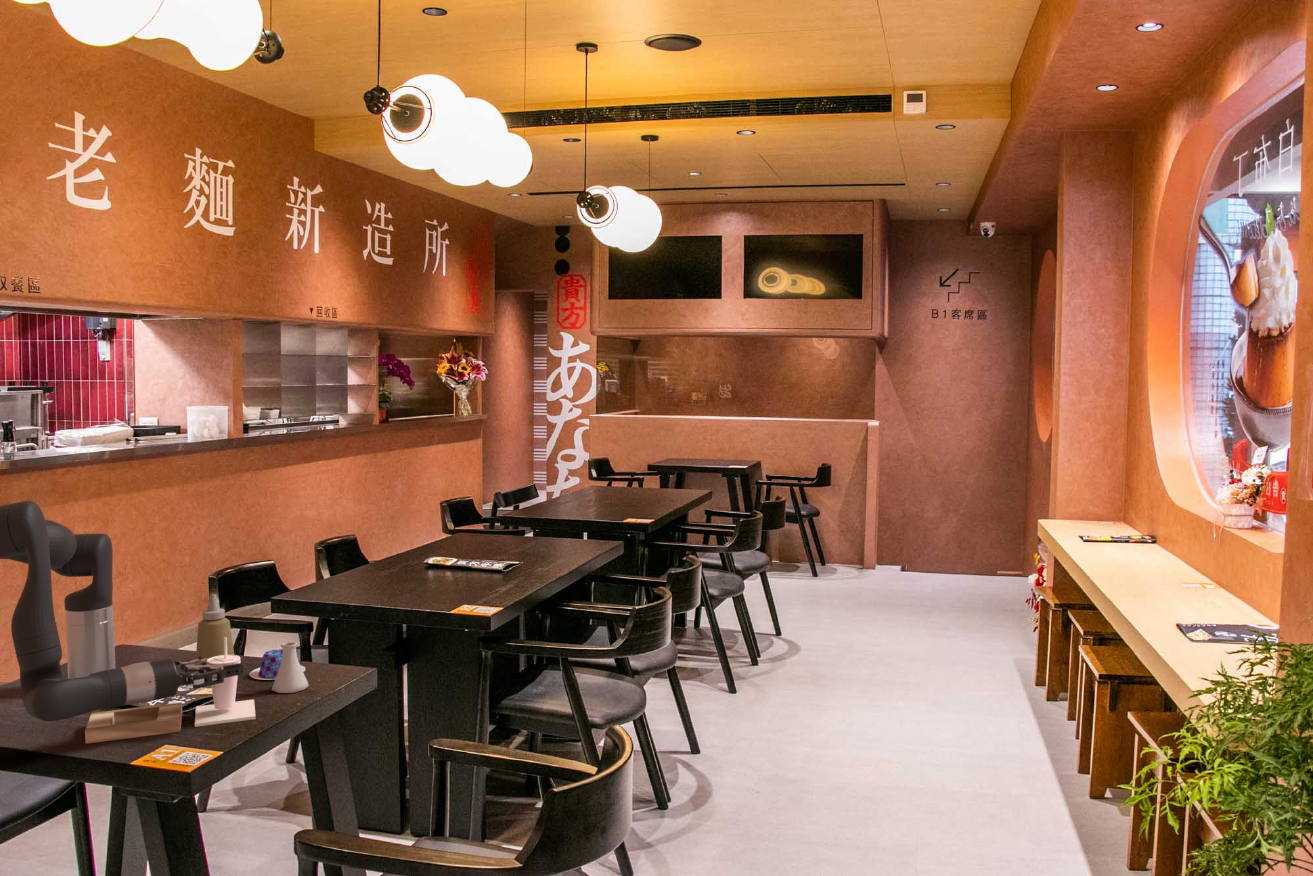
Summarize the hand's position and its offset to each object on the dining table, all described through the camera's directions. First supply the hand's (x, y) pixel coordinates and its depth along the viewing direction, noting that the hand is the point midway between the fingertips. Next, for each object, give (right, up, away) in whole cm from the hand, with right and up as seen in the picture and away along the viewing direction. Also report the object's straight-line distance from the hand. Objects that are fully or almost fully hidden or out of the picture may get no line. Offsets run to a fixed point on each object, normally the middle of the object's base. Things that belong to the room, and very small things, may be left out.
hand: (235, 664), depth 209 cm
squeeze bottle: (-15, -8, +27) cm, 32 cm away
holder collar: (-16, -10, -9) cm, 21 cm away
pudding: (-1, -8, +26) cm, 28 cm away
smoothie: (-2, -8, -1) cm, 9 cm away
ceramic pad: (-2, -10, -1) cm, 10 cm away
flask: (+6, -9, +15) cm, 18 cm away
